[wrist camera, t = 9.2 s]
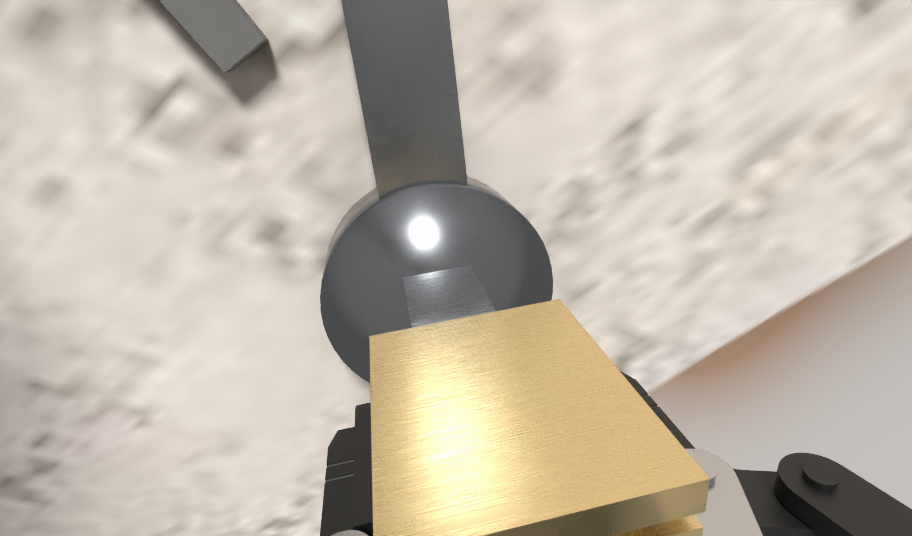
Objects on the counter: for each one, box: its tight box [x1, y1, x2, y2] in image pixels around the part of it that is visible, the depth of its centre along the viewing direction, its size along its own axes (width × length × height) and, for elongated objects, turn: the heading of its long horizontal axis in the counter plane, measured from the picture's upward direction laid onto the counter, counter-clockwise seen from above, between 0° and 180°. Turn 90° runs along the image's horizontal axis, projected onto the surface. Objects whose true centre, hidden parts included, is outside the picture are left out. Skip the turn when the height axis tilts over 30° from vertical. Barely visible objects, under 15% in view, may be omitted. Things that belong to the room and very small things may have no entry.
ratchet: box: [320, 0, 553, 382], centre depth 15 cm, size 9×22×7 cm, turn 7°
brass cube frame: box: [369, 299, 710, 536], centre depth 11 cm, size 5×5×6 cm
